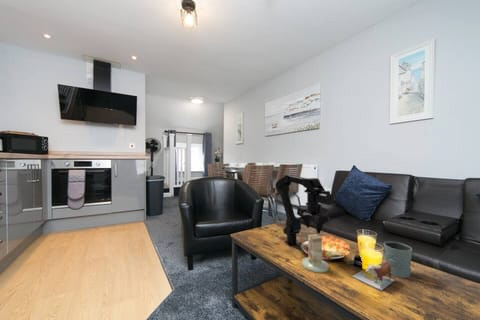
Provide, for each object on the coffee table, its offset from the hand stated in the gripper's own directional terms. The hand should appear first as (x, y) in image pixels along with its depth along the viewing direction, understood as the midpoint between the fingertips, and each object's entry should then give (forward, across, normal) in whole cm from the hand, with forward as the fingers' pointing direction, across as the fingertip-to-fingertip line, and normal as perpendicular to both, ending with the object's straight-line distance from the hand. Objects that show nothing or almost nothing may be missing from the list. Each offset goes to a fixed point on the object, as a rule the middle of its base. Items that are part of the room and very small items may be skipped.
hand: (313, 230), depth 105 cm
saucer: (+13, -10, +6) cm, 17 cm away
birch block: (+12, -10, +6) cm, 17 cm away
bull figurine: (+13, -28, -12) cm, 33 cm away
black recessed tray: (+14, -15, -15) cm, 25 cm away
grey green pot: (+13, -24, -27) cm, 38 cm away
